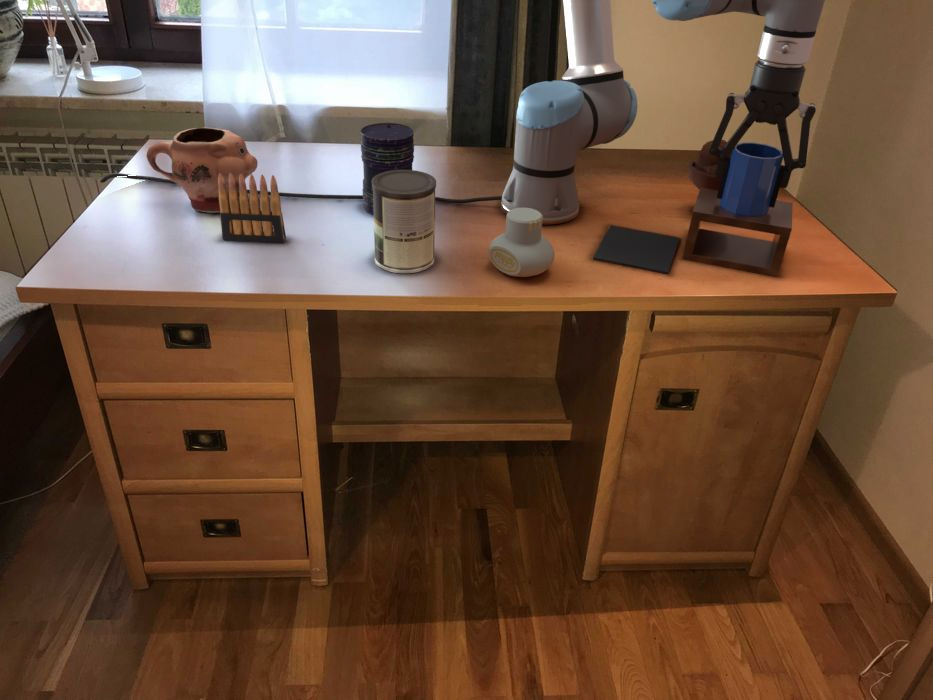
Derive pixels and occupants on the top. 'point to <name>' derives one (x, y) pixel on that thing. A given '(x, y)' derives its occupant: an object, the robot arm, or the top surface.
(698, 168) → the ice cream bowl
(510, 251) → the air freshener
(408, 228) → the coffee can
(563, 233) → the top surface
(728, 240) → the shelf
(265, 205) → the ammunition clip
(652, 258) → the mat
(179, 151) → the decorative planter
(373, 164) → the storage jar
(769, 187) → the cup
